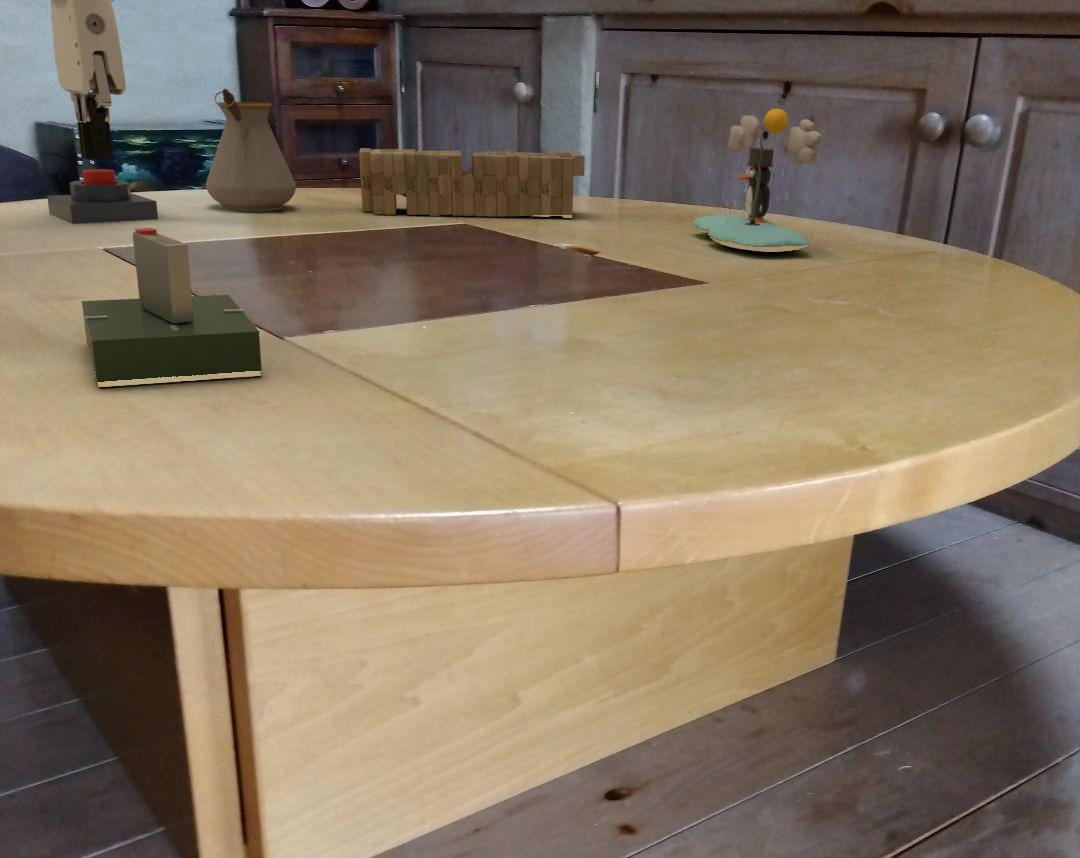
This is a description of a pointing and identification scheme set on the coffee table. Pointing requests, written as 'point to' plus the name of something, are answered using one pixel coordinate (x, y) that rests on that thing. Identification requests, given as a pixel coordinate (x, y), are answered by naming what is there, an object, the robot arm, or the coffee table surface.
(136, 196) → the button block
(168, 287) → the upright beige tablet
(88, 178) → the release button
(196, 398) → the coffee table surface
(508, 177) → the block tower
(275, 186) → the coffee pot
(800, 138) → the penguin figurine
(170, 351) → the block
